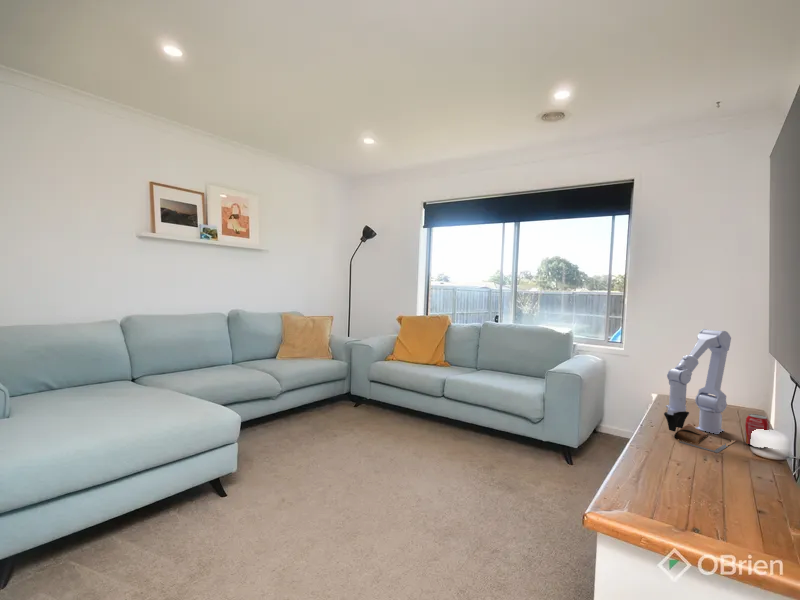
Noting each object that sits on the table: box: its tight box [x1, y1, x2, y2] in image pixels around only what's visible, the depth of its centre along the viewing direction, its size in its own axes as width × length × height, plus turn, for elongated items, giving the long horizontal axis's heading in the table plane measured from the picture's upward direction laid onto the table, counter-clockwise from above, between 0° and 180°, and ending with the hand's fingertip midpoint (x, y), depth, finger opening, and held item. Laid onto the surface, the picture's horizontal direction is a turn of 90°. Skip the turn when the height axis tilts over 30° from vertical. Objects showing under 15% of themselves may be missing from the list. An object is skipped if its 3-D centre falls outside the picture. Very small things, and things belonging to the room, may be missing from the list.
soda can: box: [744, 413, 770, 445], centre depth 159 cm, size 7×7×12 cm
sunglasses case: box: [674, 423, 709, 445], centre depth 167 cm, size 18×7×7 cm
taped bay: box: [679, 440, 729, 454], centre depth 161 cm, size 24×12×1 cm, turn 127°
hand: (675, 429), depth 170 cm, fingers open, 7 cm apart
